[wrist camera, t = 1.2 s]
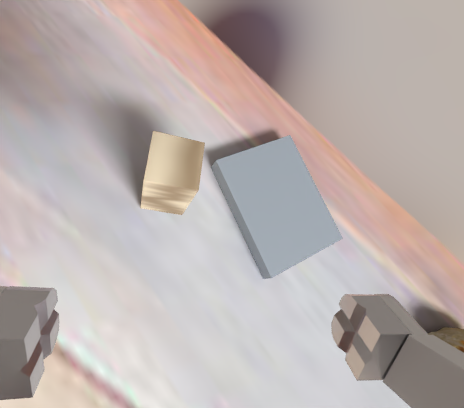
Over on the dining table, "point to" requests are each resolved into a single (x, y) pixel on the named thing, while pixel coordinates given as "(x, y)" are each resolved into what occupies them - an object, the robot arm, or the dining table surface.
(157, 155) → the maple block
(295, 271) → the dining table surface
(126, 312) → the dining table surface
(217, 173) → the base plate
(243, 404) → the dining table surface
